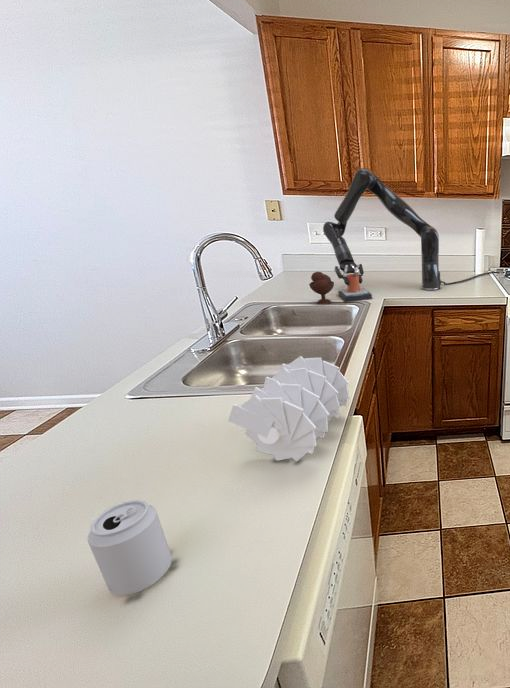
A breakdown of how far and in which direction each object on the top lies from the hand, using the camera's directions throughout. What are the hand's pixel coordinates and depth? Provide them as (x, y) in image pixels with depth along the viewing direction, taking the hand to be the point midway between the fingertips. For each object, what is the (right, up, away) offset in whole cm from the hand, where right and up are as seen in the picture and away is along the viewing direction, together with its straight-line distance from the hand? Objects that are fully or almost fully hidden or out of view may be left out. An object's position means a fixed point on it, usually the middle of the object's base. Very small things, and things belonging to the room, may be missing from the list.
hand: (354, 283), depth 197 cm
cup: (-1, -4, +3) cm, 5 cm away
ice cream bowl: (-13, -10, -6) cm, 17 cm away
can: (+11, -60, -137) cm, 150 cm away
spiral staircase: (+21, -48, -104) cm, 116 cm away
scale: (-1, -7, +3) cm, 7 cm away
